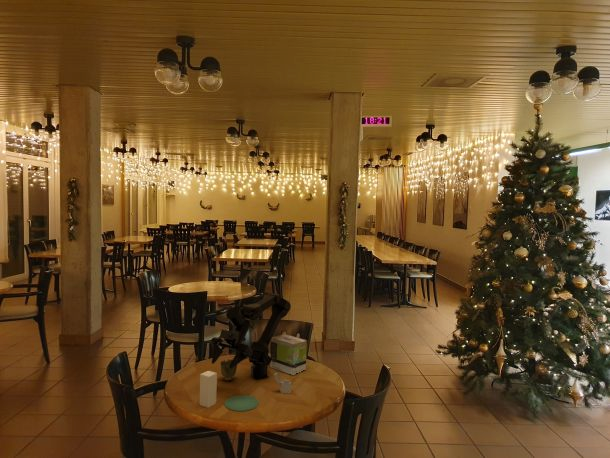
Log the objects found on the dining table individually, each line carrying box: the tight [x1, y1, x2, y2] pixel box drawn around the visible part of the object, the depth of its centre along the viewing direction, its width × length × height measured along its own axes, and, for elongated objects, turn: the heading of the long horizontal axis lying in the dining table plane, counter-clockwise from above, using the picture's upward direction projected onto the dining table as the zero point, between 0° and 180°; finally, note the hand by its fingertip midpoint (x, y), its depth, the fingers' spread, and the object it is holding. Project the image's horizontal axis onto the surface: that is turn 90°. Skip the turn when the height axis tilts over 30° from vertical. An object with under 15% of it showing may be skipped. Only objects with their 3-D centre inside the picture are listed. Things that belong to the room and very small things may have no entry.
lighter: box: [273, 372, 292, 394], centre depth 180 cm, size 7×2×8 cm, turn 86°
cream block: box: [199, 370, 218, 408], centre depth 166 cm, size 4×4×12 cm
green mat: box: [224, 394, 260, 412], centre depth 168 cm, size 13×13×1 cm
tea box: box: [269, 333, 308, 376], centre depth 206 cm, size 15×10×15 cm
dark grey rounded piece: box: [219, 358, 238, 382], centre depth 190 cm, size 8×7×8 cm
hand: (221, 365), depth 172 cm, fingers open, 9 cm apart
